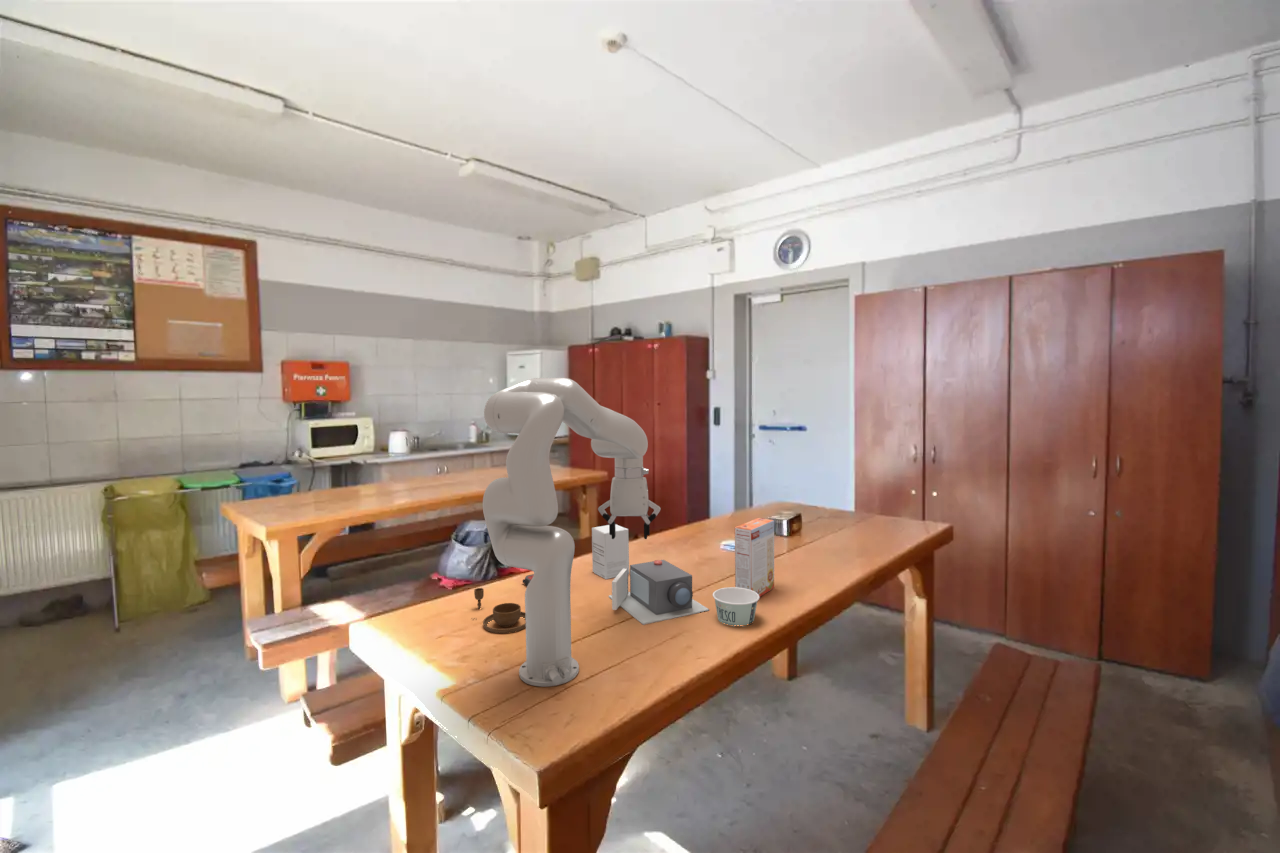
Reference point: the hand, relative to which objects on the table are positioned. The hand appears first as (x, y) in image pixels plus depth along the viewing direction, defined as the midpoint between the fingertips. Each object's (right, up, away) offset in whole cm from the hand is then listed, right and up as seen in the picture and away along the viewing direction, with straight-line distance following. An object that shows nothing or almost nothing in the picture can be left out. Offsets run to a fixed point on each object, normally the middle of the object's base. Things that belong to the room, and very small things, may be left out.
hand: (629, 537), depth 159 cm
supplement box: (-7, -18, +33) cm, 38 cm away
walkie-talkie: (-26, -20, +17) cm, 36 cm away
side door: (-3, -19, +6) cm, 20 cm away
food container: (+28, -21, -5) cm, 35 cm away
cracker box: (+36, -19, +14) cm, 43 cm away
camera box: (+8, -20, +7) cm, 22 cm away
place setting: (-33, -21, -3) cm, 39 cm away
